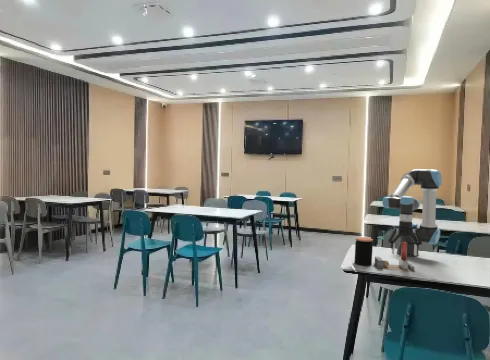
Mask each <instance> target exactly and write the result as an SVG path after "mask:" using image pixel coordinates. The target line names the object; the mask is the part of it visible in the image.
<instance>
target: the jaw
mask: <svg viewBox="0 0 490 360" xmlns="http://www.w3.org/2000/svg"><path fill="white" fill-rule="evenodd" d="M407 257H408V256H407V242H402V249H401V255H400V257H398V265H399V266H400V267H401V268H402V269H408V263H409V261H408V259H407Z"/></svg>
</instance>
